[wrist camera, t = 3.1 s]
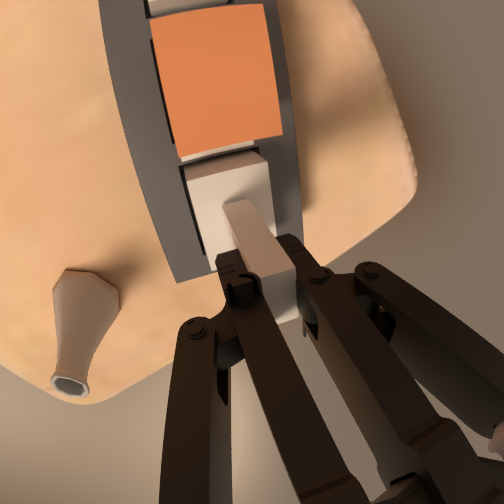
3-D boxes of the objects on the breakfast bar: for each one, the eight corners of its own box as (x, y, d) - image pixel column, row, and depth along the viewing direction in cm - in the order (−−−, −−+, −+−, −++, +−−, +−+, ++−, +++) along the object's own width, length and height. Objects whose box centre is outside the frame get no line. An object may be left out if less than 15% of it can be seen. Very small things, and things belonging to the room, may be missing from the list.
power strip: (104, -82, 5) (96, -104, 1) (229, -103, 6) (242, -126, 3) (173, 254, 23) (176, 284, 20) (284, 222, 25) (304, 246, 21)
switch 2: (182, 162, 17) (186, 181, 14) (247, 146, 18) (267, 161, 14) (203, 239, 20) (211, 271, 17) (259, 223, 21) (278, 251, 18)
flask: (50, 312, 22) (29, 394, 14) (58, 257, 20) (22, 345, 12) (112, 332, 26) (108, 416, 18) (129, 283, 23) (124, 376, 15)
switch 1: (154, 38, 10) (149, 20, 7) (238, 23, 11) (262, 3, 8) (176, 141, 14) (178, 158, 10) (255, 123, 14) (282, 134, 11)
